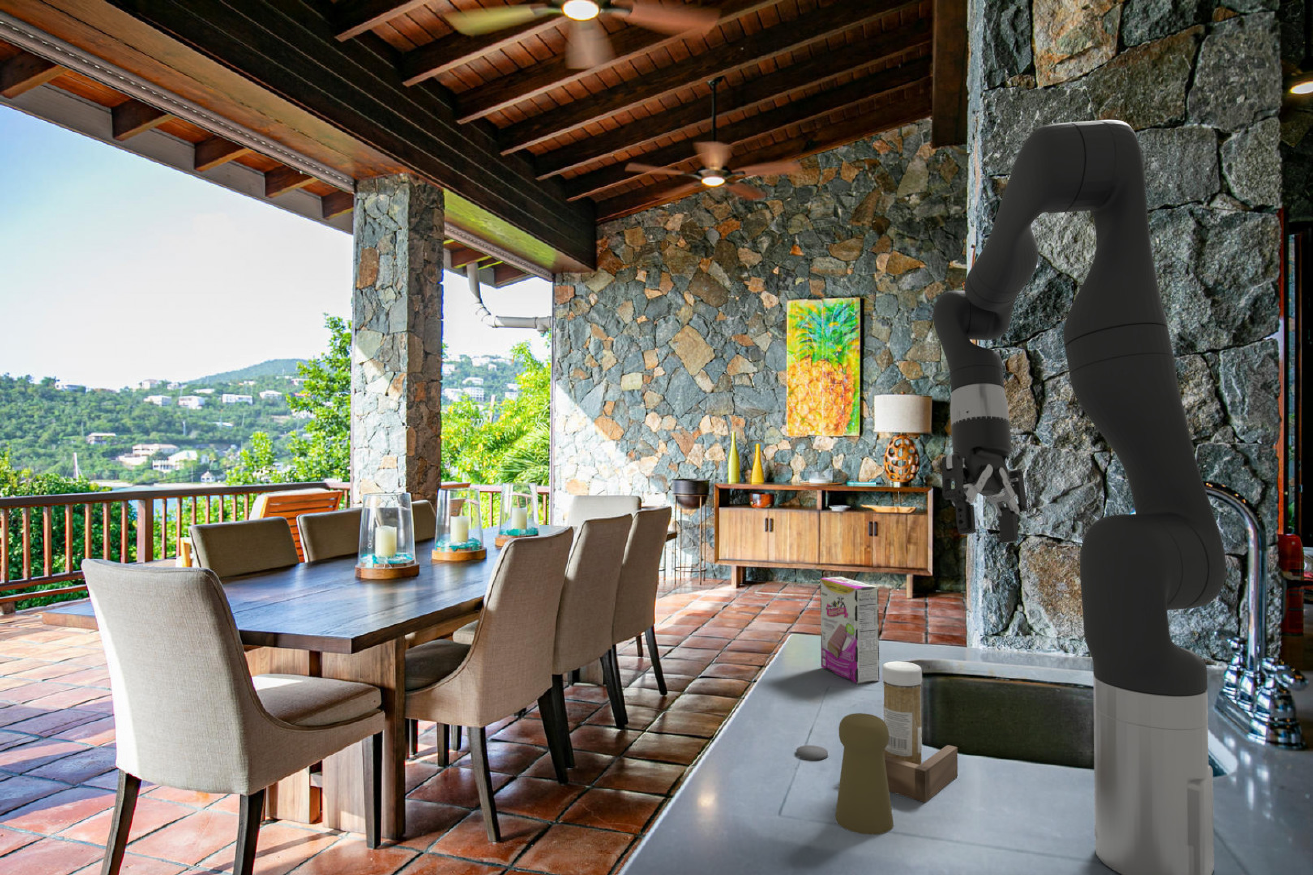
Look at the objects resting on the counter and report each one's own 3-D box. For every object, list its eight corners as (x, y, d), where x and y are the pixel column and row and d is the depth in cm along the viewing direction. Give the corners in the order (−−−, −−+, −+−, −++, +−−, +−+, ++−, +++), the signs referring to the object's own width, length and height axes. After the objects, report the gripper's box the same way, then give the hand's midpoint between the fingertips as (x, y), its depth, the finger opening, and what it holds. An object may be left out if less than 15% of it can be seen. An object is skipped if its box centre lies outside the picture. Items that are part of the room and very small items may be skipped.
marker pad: (833, 753, 101) (833, 750, 101) (817, 762, 98) (817, 759, 98) (806, 745, 104) (806, 742, 104) (790, 754, 101) (790, 751, 101)
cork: (850, 802, 87) (849, 703, 87) (902, 818, 83) (902, 715, 83) (825, 822, 82) (824, 717, 83) (879, 840, 79) (878, 730, 79)
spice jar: (930, 779, 93) (929, 666, 93) (905, 788, 91) (905, 672, 91) (899, 766, 97) (898, 658, 97) (875, 774, 94) (874, 663, 95)
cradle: (957, 776, 94) (957, 747, 94) (925, 802, 87) (925, 770, 87) (884, 756, 100) (884, 728, 100) (849, 778, 93) (849, 749, 93)
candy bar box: (819, 668, 141) (818, 577, 142) (842, 665, 143) (841, 575, 143) (856, 685, 131) (855, 587, 131) (880, 681, 133) (880, 585, 133)
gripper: (968, 405, 102) (976, 527, 97) (1036, 426, 108) (1048, 541, 104) (922, 419, 108) (929, 534, 103) (990, 438, 115) (998, 547, 110)
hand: (988, 538), depth 104 cm, fingers open, 8 cm apart
